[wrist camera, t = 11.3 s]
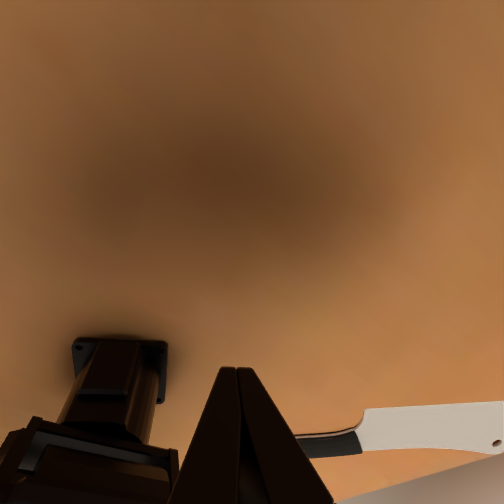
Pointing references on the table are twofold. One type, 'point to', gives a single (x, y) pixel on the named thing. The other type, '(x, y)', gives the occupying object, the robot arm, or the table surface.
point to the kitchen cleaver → (415, 430)
